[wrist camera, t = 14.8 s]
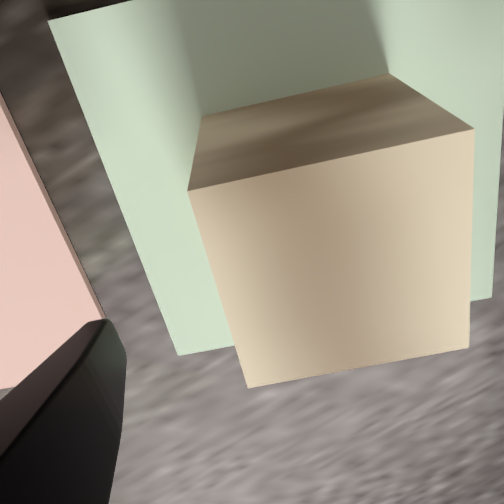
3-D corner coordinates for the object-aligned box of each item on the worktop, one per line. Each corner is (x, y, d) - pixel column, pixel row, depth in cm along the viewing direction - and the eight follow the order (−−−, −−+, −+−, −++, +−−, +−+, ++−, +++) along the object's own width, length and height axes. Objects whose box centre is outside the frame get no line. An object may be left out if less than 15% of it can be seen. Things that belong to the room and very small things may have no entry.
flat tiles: (509, -92, 11) (516, -94, 11) (488, 292, 16) (491, 297, 16) (-415, 133, 13) (-429, 137, 12) (-151, 412, 18) (-157, 418, 18)
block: (389, 73, 12) (474, 128, 8) (399, 237, 15) (468, 348, 11) (202, 116, 13) (187, 191, 8) (243, 269, 15) (248, 388, 11)
